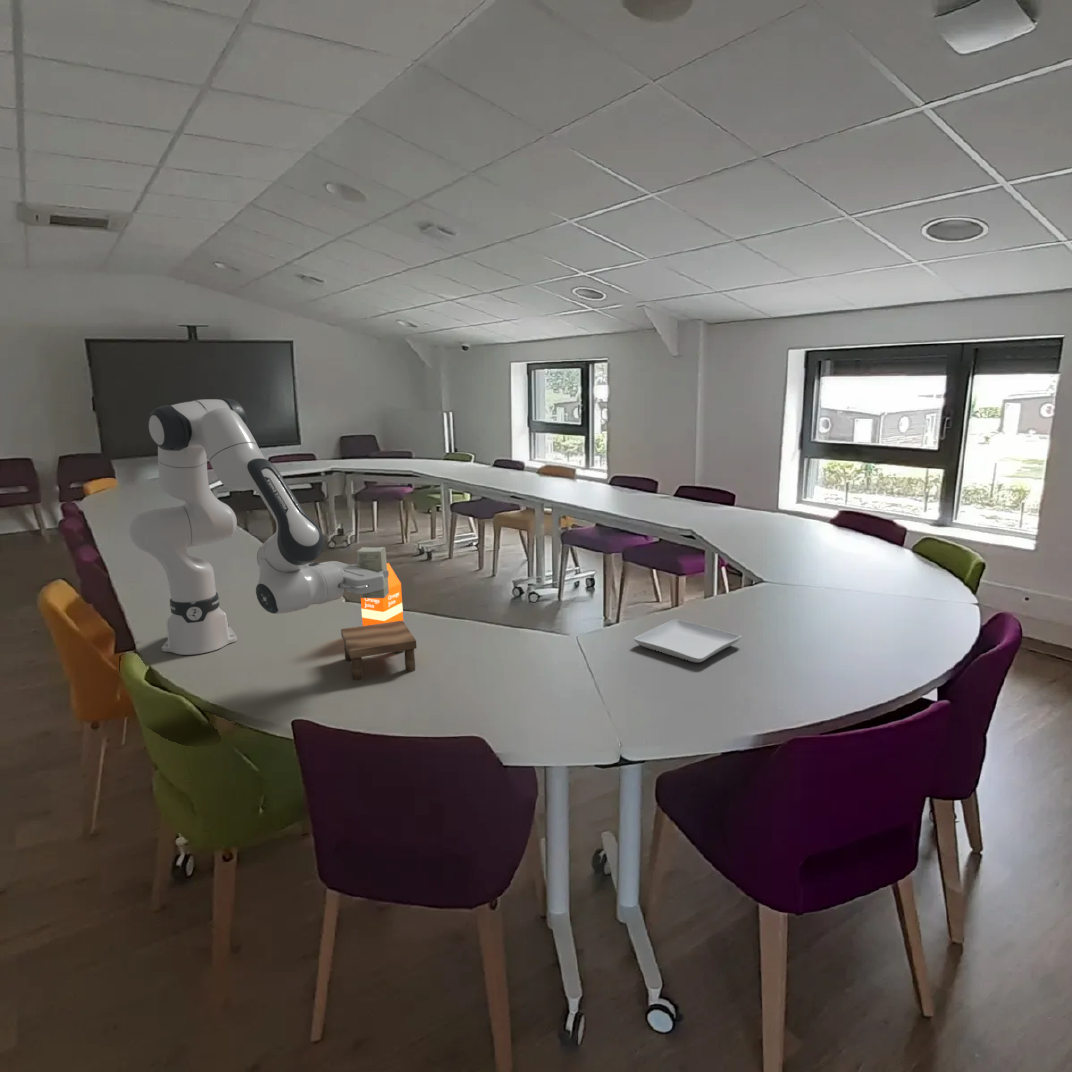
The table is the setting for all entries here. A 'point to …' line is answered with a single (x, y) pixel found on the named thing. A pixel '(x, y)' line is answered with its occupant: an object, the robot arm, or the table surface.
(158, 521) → the robot arm
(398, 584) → the orange juice
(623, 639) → the table surface
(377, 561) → the skincare box
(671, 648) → the salad plate
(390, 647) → the walnut stool
